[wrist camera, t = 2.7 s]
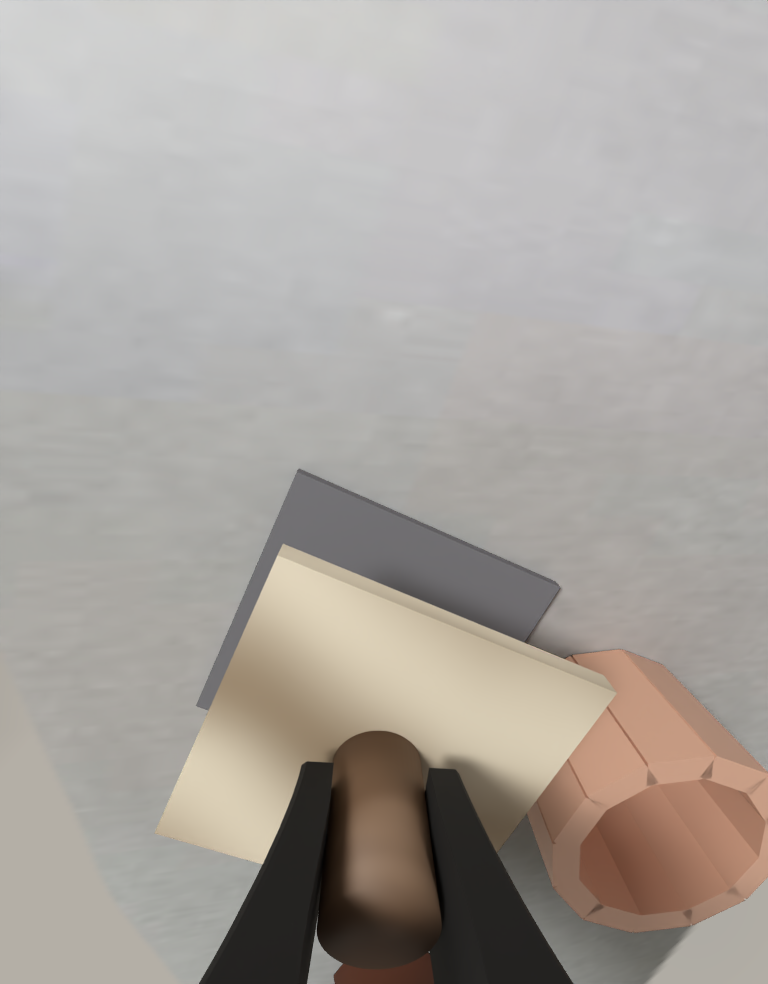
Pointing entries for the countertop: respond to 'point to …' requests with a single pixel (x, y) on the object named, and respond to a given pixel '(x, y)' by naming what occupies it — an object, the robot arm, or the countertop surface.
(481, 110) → the countertop surface
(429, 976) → the ice cream bowl
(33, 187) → the countertop surface
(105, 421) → the countertop surface
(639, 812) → the bowl
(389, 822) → the cover
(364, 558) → the mat
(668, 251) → the countertop surface
